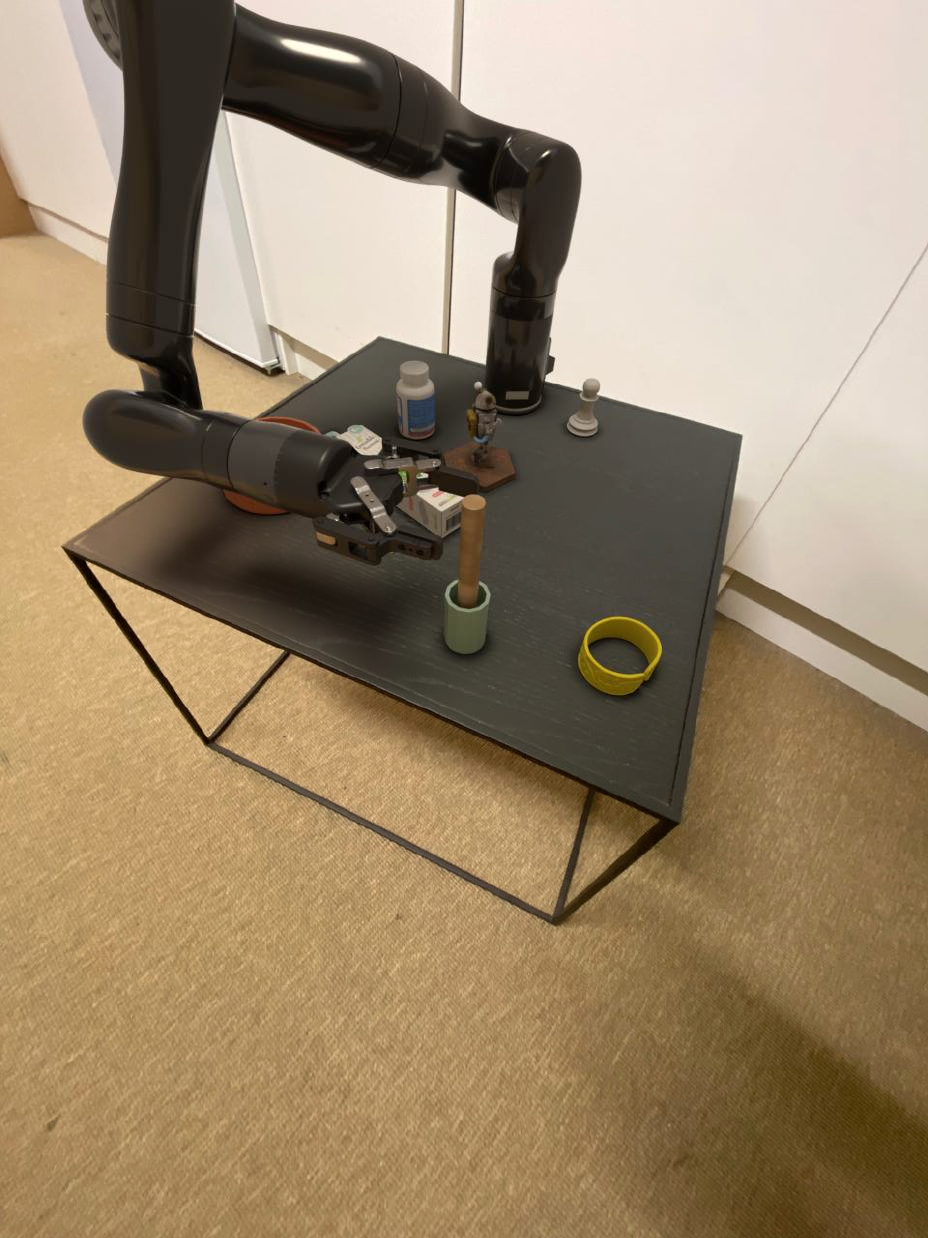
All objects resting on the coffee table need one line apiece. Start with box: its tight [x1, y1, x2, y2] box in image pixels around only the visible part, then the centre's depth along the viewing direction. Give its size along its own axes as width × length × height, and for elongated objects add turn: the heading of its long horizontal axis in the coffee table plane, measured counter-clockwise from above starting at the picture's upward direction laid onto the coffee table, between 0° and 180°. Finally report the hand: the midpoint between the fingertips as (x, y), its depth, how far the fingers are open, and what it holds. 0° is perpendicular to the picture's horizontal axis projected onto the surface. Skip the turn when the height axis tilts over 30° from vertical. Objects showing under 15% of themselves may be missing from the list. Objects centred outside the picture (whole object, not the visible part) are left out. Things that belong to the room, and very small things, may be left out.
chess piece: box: [566, 377, 601, 438], centre depth 84 cm, size 5×5×8 cm
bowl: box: [221, 416, 322, 515], centre depth 74 cm, size 14×14×6 cm
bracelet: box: [577, 616, 663, 696], centre depth 58 cm, size 7×8×3 cm
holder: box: [443, 579, 492, 655], centre depth 58 cm, size 4×4×7 cm
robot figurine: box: [443, 381, 516, 493], centre depth 75 cm, size 11×9×12 cm
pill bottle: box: [396, 360, 436, 440], centre depth 82 cm, size 6×5×10 cm
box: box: [323, 424, 464, 539], centre depth 76 cm, size 4×4×28 cm
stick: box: [457, 494, 487, 609], centre depth 54 cm, size 2×2×18 cm
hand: (460, 517), depth 48 cm, fingers open, 8 cm apart
